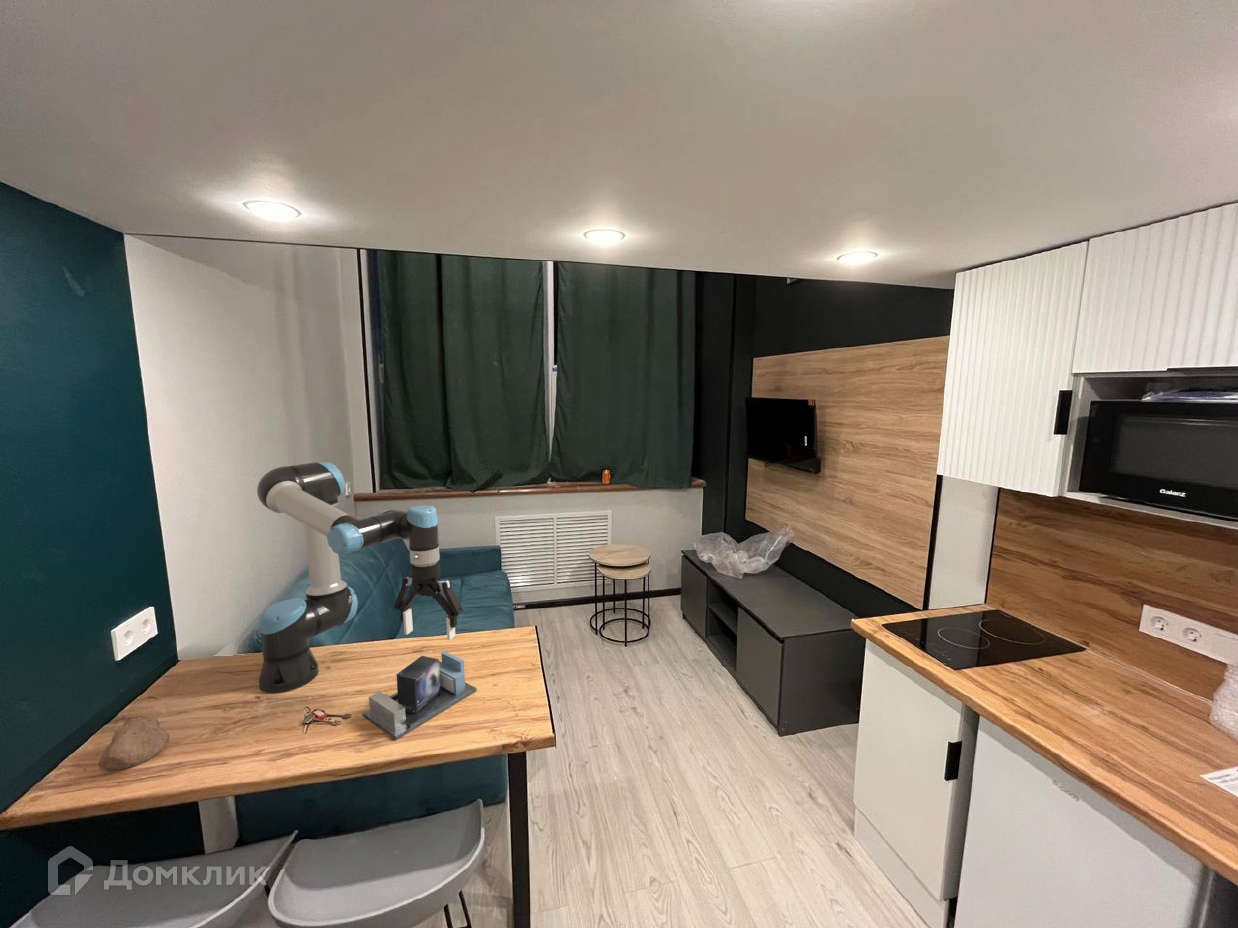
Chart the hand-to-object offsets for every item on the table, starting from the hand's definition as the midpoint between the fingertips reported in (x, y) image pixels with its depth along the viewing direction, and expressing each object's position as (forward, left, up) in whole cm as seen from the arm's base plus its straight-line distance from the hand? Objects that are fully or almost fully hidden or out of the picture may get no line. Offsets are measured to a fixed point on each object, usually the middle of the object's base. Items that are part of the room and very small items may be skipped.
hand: (429, 635), depth 137 cm
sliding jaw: (0, +5, -18) cm, 19 cm away
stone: (-39, -54, -19) cm, 69 cm away
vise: (0, -4, -19) cm, 20 cm away
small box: (0, -4, -18) cm, 19 cm away
